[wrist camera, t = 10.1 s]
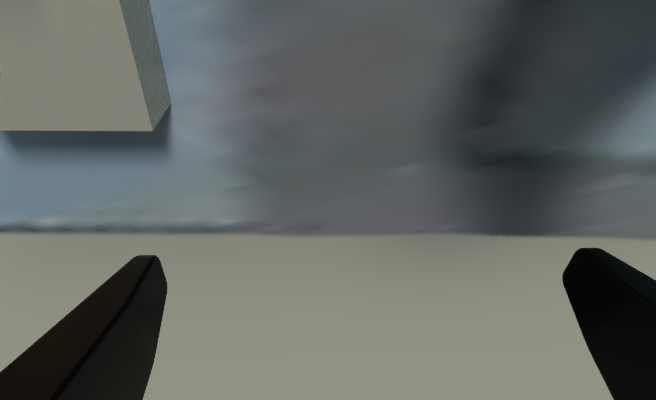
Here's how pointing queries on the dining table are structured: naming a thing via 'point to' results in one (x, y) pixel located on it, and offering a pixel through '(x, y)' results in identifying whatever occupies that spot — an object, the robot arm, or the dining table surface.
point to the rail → (80, 66)
